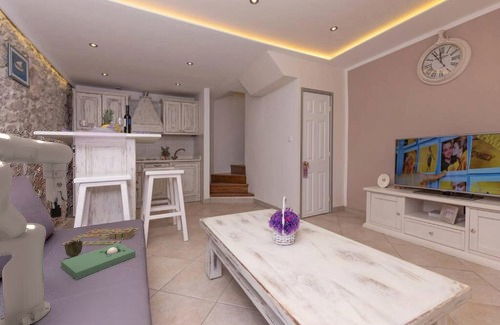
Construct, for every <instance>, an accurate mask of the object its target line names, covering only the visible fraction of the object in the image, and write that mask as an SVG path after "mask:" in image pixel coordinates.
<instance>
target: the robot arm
mask: <svg viewBox="0 0 500 325" xmlns="http://www.w3.org/2000/svg"><path fill="white" fill-rule="evenodd" d="M73 157H74V152H73V149H72V148H71V146H69V145H67V144H65V143H61V142H60V143H58V142H52V141H45V140H38V139H32V138H27V137H26V138H25V137H22V136H17V135H14V134H10V133H4V132H0V257H1V256H11V258H10V259H9V261H7V262H6V264H5V265H4V266H3V269H2V270H1V272H2V273H1V277H2V297H3V298H2V299H3V316H1V317H0V325H30V324H31V325H32V324H35V323H36V322H39V320H41V319H43V318H44V317H45V316H46V315H48V314H49V312H50V310H51V306H52V305H51V303H50V302H49V301H47V300H45V276H44V271H45V270H44V248H45V242H46V236H47V229H46V227H45V226H44V225H43V224H41V223H37V222H28V221H27V219H26V217H25V216H24V214H22V213H21V212H20V211H19V209H17V208H16V207H15V206H14V205H13V204H12V203H11V202H10V201H9V199H10V194H11V191H12V184H13V179H14V178H13V177H14V176H13V169H12V167H11V166H10V164H20V165H23V164H26V165H27V164H28V165H33V164H35V165H42V179H43V180H45V198H46V200H47V201H49V205H50V208H49V209H50V218H51V219H56V218H61V217H62V206H63V204H62V203H63V201H64V202H65V201H67V200H68V193H67V192H68V191H67V182H66V178H67V164H69V163H70V162H72V160H73ZM9 163H10V164H9Z"/></svg>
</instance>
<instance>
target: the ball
mask: <svg viewBox="0 0 500 325" xmlns="http://www.w3.org/2000/svg"><path fill="white" fill-rule="evenodd" d="M115 253H118V250H117V248H115V247H112V248H110V249H108V251H107V255H112V254H115Z"/></svg>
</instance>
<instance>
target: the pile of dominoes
mask: <svg viewBox="0 0 500 325" xmlns="http://www.w3.org/2000/svg"><path fill="white" fill-rule="evenodd" d="M115 229H116V230H115ZM121 229H122V230H121ZM139 230H140V228H138V227H135V228H134V226H133V227H127V228H108V229H107V228H101V229H99V228H95V229H93V230H92V229H91V230H89V231H86V232H84V234H78V235H77V236H75V237H73V238H72V239H69V240H68V241H65V242H63V243H62V244H61V246H64V244H66V243H67V244H69V242H72V241H76V242H77V240H78V241H80V240H81V239H82V238H99V240H101V241H98V240H95V241H83V244H82V246H110V245H113V244H116V243H120V242H121V240H130V239H131V238H133V237H134V235H135V232H138V231H139ZM106 232H107V233H106ZM93 233H94V234H93ZM97 233H98V234H97ZM102 233H105V234H102ZM108 237H109V238H108ZM122 238H123V239H122ZM129 238H130V239H129ZM103 239H105V240H103ZM107 239H109V240H108V241H106V240H107ZM110 239H112V240H110ZM102 240H103V241H102ZM120 244H121V243H120ZM64 247H65V246H64Z"/></svg>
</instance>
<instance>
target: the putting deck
mask: <svg viewBox="0 0 500 325" xmlns="http://www.w3.org/2000/svg"><path fill="white" fill-rule="evenodd" d="M112 247H115V248H117V250H118V253H115V254H112V255H107V251H108V249H110V248H112ZM78 255H79V256H76V257H72V258H70V257H69V258H66V259H63V260H61V261H60V267H61V269H63V270H64V271H65V272H66V273H68V274H69V275H70V276H71V277H73V278H74V279H75V280H79V279H81V278H84V277H86V276H89V275H91V274H94V273H97V272H100V271H102V270H105V269H107V268H110V267H112V266H115V265H117V264H120V263H122V262H125V261H128V260H131V259H133V258H135V257H136V250H134V249H132V248H130V247H128V246H126V245H124V244H122V243H116V244H113V245H106V246H105V247H101V248H98V249H95V250H92V251H89V252H86V253H82V254H78Z"/></svg>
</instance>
